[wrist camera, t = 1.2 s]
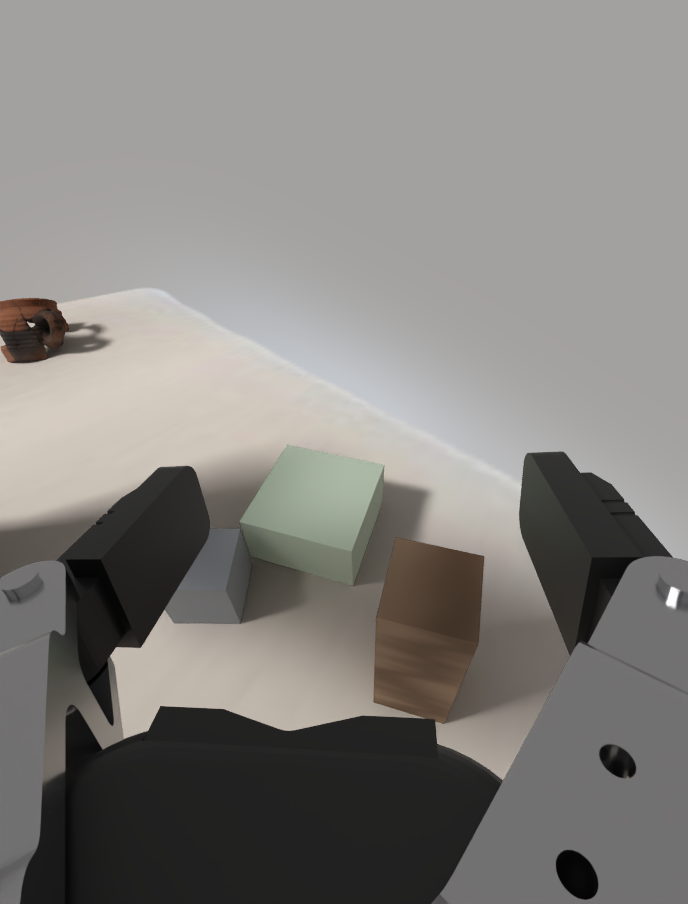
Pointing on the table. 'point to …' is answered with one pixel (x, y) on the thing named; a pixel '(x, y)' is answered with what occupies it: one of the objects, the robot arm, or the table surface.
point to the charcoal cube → (214, 582)
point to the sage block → (315, 513)
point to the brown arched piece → (24, 339)
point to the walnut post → (426, 627)
